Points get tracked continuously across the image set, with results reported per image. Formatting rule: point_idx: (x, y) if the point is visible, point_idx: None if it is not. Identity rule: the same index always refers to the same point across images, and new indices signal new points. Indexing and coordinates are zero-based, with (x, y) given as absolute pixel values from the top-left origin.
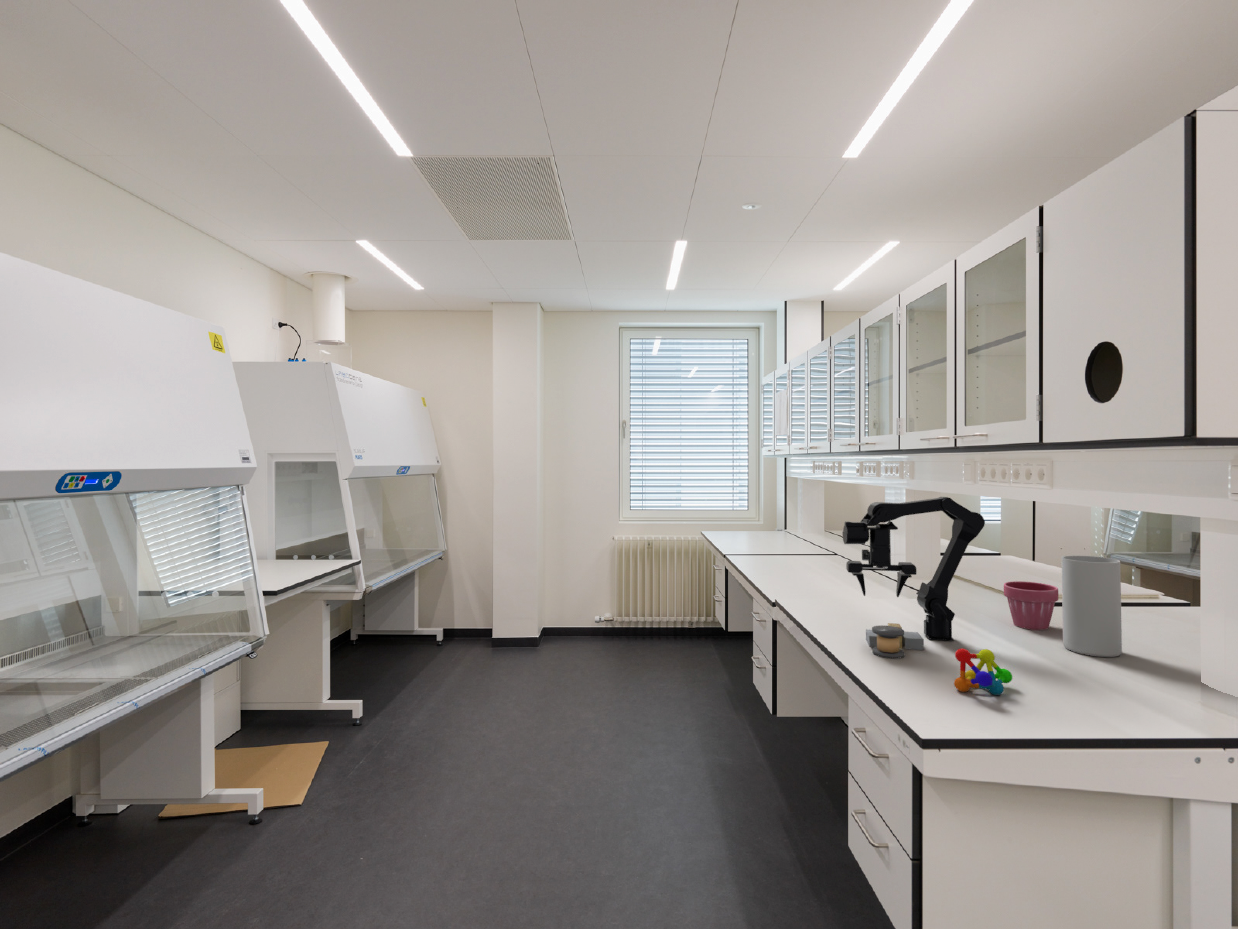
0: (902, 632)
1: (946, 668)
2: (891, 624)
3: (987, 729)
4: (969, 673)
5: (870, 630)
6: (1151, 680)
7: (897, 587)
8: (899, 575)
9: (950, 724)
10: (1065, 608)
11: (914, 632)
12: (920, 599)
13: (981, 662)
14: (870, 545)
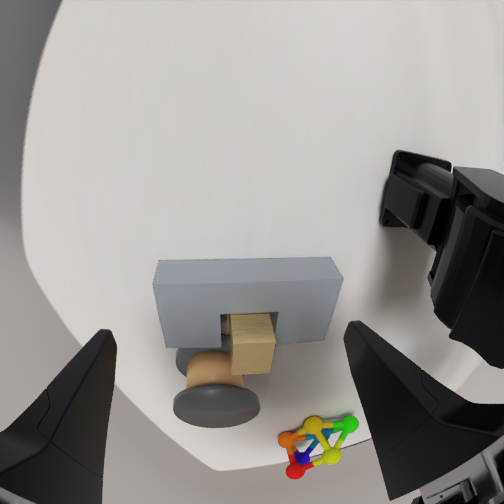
0: (250, 419)
1: (306, 390)
2: (243, 355)
3: (268, 461)
4: (309, 433)
5: (170, 295)
6: None
7: (376, 389)
8: (417, 478)
9: (241, 463)
10: None
11: (330, 284)
12: (465, 267)
13: (324, 449)
14: None
